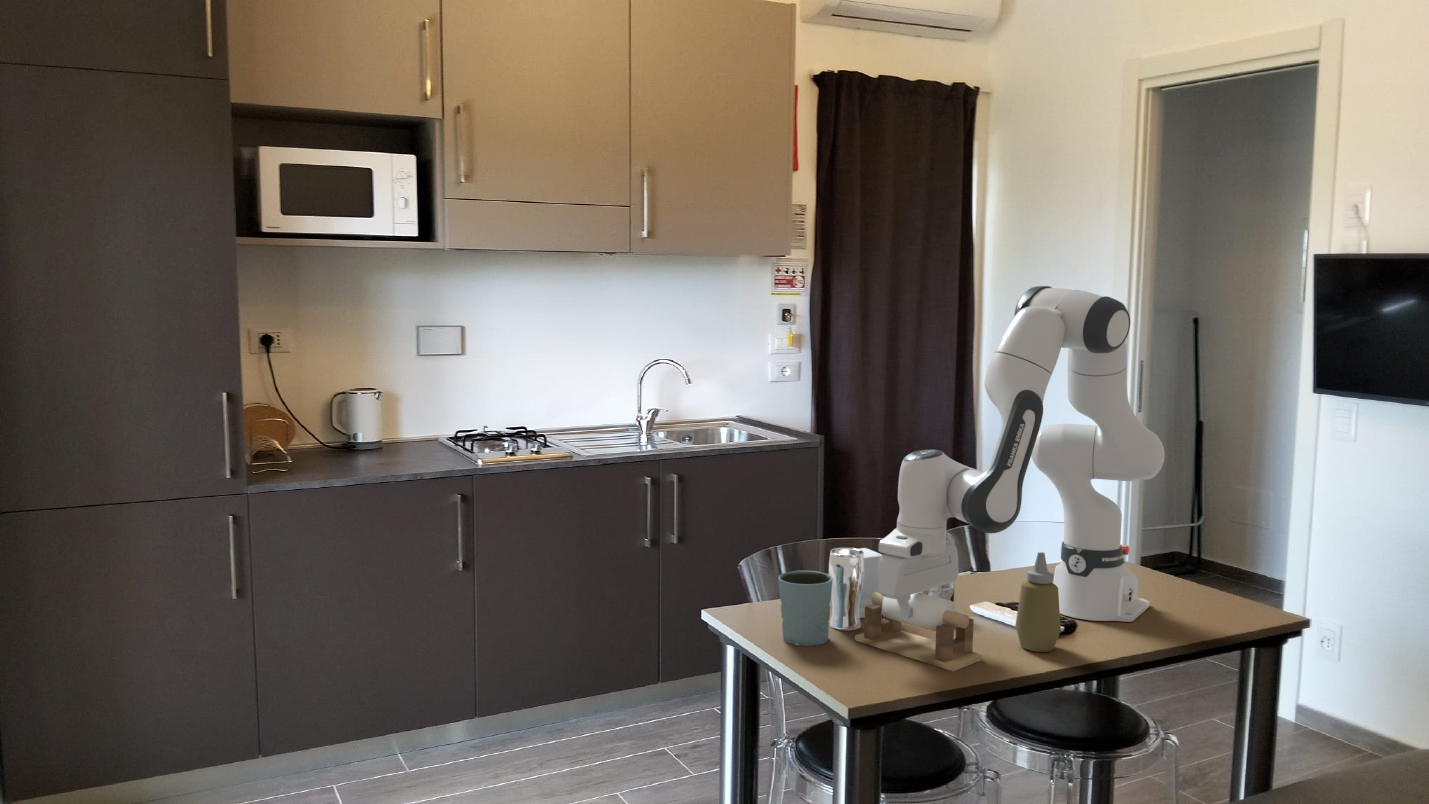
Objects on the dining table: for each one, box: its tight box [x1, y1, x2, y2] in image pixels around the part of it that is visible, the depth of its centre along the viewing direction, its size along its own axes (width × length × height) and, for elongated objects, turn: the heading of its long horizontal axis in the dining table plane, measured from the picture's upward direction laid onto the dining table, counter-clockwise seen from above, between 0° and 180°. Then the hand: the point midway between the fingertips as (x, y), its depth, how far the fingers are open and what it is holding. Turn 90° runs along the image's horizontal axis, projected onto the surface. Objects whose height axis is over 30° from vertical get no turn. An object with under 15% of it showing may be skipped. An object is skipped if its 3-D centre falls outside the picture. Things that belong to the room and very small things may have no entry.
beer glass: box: [828, 547, 864, 632], centre depth 207 cm, size 7×7×15 cm
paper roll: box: [871, 592, 970, 632], centre depth 193 cm, size 20×6×6 cm, turn 43°
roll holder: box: [854, 604, 983, 672], centre depth 194 cm, size 22×9×7 cm, turn 43°
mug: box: [920, 583, 955, 604], centre depth 216 cm, size 10×7×7 cm
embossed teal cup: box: [777, 570, 833, 647], centre depth 199 cm, size 10×10×12 cm
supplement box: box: [858, 547, 884, 619], centre depth 216 cm, size 7×7×13 cm
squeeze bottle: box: [1015, 551, 1062, 653], centre depth 195 cm, size 8×8×18 cm
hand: (918, 613), depth 193 cm, fingers closed on paper roll, 6 cm apart
